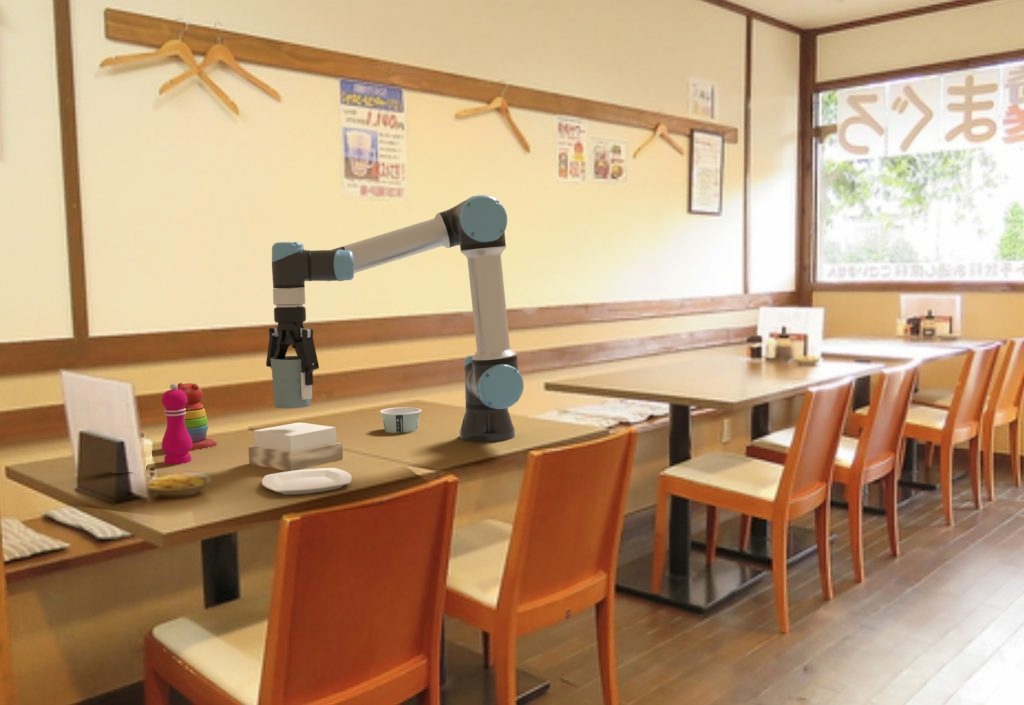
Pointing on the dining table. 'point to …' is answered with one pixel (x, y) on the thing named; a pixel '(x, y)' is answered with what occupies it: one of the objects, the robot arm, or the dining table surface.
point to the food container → (400, 419)
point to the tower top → (295, 437)
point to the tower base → (295, 457)
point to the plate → (306, 480)
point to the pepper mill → (176, 427)
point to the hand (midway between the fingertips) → (293, 397)
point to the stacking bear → (196, 417)
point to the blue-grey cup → (287, 383)
